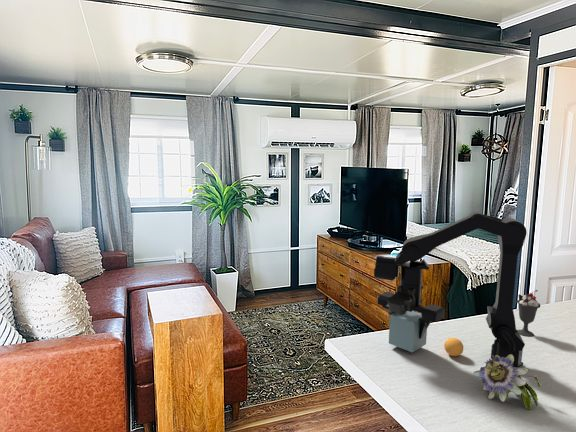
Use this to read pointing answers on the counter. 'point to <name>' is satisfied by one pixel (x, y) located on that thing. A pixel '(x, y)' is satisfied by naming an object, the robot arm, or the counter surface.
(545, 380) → the counter surface
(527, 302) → the sundae
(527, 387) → the passion flower
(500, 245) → the robot arm
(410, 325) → the grey-blue slanted prism
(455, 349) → the ball
